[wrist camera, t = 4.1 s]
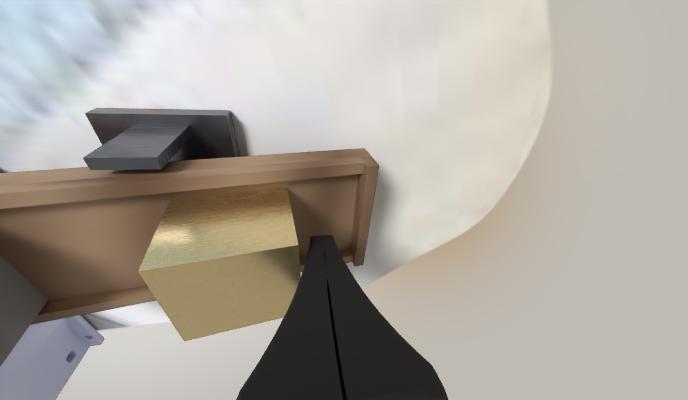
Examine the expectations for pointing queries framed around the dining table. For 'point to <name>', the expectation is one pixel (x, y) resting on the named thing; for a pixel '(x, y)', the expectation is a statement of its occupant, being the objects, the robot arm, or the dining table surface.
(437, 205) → the dining table surface
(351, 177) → the balance beam
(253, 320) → the block
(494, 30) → the dining table surface
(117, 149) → the beam stand
